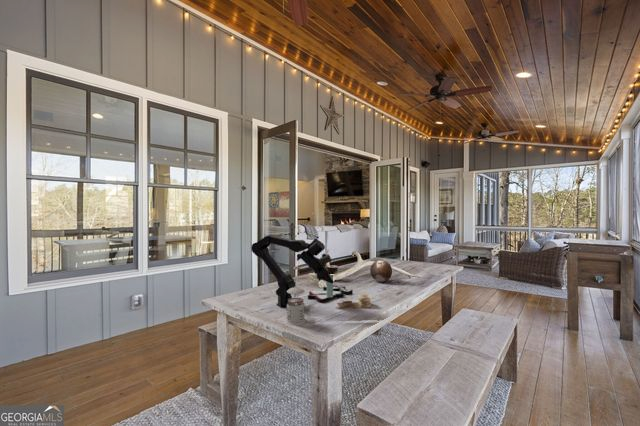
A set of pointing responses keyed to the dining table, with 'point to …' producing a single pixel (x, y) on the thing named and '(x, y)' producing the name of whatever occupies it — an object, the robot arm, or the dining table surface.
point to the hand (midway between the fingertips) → (332, 281)
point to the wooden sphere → (381, 271)
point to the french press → (295, 311)
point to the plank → (330, 288)
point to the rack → (356, 303)
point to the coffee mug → (332, 269)
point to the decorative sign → (322, 294)
